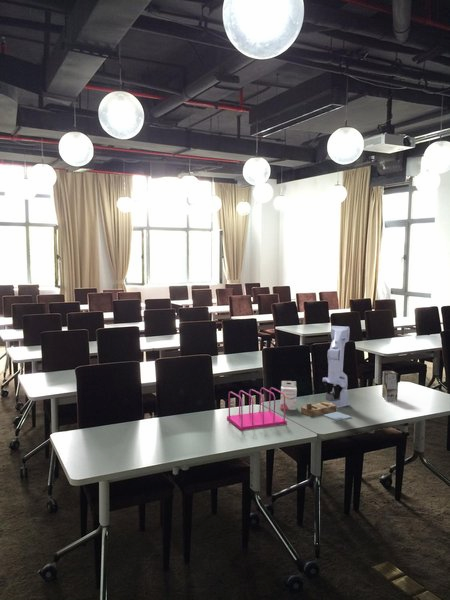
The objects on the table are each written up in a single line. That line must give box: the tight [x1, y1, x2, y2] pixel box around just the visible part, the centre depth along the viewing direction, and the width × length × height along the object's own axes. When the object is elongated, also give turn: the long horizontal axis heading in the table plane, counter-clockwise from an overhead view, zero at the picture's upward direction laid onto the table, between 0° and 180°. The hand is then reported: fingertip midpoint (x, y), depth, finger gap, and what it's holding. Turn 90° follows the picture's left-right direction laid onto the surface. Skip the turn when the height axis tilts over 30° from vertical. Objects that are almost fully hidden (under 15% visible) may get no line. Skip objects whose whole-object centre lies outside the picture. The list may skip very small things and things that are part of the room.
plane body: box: [300, 401, 337, 417], centre depth 267 cm, size 18×8×5 cm, turn 123°
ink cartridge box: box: [280, 380, 298, 411], centre depth 272 cm, size 9×5×15 cm, turn 84°
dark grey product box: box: [325, 391, 341, 403], centre depth 260 cm, size 6×4×4 cm
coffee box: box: [381, 370, 399, 403], centre depth 290 cm, size 9×6×16 cm
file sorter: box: [226, 387, 288, 431], centre depth 250 cm, size 17×25×16 cm
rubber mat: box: [322, 411, 352, 422], centre depth 259 cm, size 10×10×1 cm
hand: (333, 397), depth 260 cm, fingers closed on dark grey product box, 4 cm apart
